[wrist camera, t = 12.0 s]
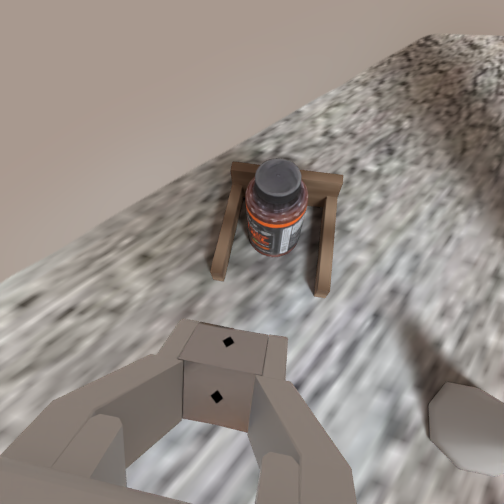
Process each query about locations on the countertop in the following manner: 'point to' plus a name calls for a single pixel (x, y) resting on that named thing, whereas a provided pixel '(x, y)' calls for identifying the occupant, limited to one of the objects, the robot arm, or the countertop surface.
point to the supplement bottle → (275, 207)
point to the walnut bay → (319, 195)
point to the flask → (468, 428)
